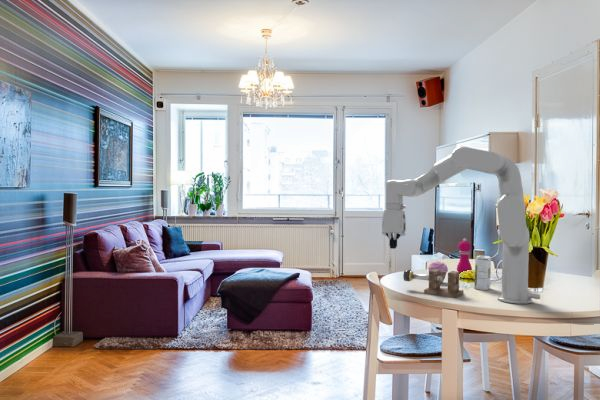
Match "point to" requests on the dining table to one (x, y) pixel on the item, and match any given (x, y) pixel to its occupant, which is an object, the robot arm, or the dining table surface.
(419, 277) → the shaft
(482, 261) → the silver can
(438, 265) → the cupcake
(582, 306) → the dining table surface
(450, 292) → the bracket
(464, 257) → the pepper mill
